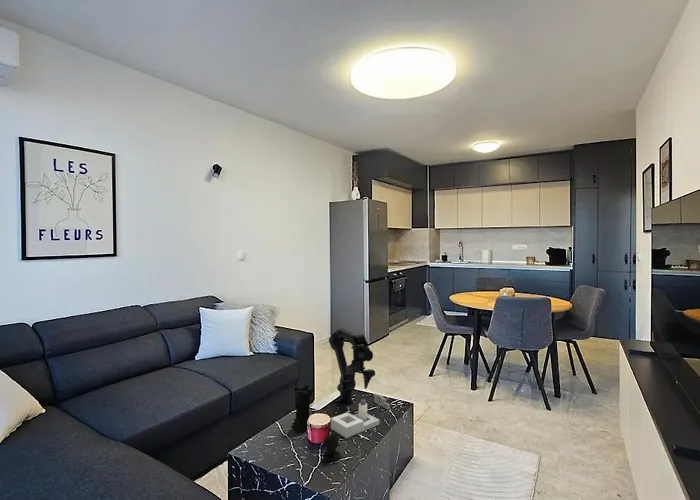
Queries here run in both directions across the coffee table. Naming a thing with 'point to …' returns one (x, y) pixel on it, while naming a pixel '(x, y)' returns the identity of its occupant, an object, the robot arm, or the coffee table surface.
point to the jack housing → (352, 424)
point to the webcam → (331, 447)
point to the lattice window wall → (383, 401)
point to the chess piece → (302, 408)
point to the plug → (363, 410)
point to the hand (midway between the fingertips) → (359, 387)
